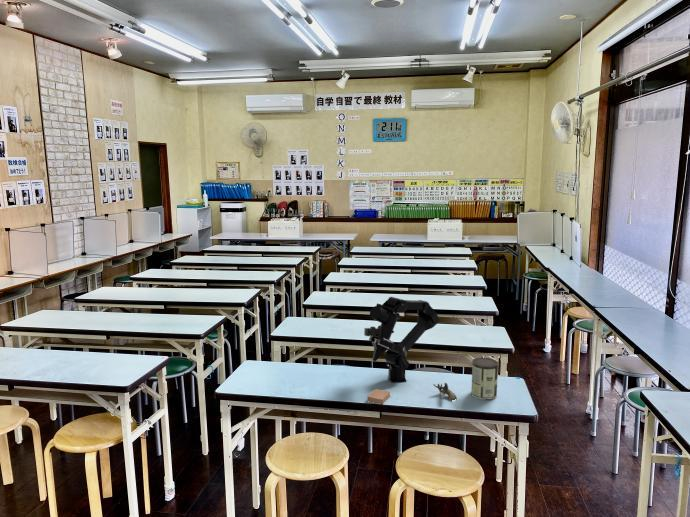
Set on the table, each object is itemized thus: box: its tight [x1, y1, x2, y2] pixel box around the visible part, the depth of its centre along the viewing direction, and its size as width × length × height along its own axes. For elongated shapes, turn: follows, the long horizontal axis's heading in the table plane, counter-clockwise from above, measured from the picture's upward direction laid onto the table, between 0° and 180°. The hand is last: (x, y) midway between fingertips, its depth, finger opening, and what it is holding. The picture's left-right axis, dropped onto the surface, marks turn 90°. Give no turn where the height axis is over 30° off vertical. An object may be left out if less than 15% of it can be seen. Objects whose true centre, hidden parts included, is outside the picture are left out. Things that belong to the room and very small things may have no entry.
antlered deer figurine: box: [433, 381, 458, 402], centre depth 206 cm, size 8×7×9 cm
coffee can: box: [470, 357, 499, 400], centre depth 208 cm, size 10×10×14 cm
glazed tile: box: [366, 388, 391, 405], centre depth 205 cm, size 2×6×8 cm
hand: (373, 360), depth 213 cm, fingers closed
